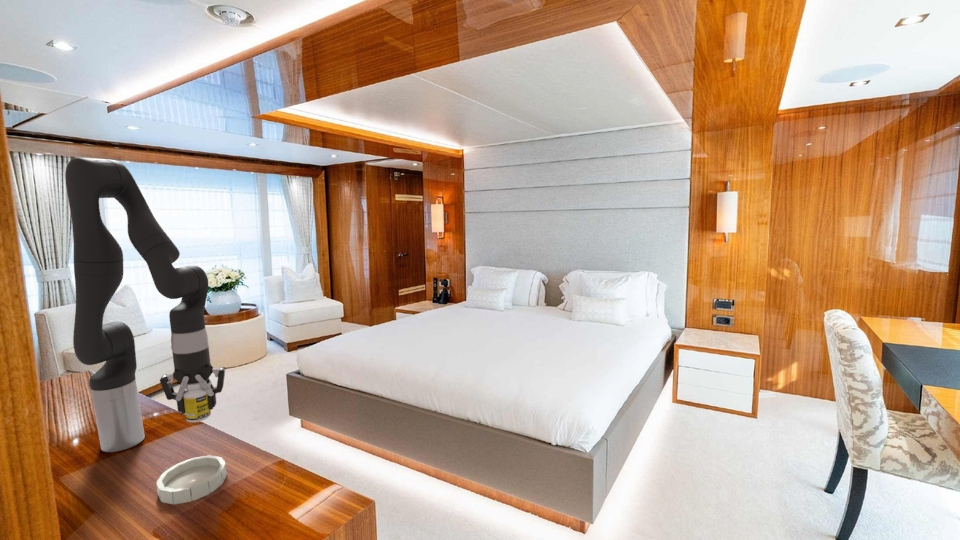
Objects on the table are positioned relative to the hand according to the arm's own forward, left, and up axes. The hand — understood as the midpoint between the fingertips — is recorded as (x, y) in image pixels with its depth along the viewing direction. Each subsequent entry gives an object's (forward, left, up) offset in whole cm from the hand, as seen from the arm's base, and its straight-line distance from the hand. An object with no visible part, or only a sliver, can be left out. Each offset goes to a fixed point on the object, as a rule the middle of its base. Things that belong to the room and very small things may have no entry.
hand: (197, 410), depth 110 cm
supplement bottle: (0, 0, -2) cm, 2 cm away
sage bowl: (+12, -5, -12) cm, 18 cm away
